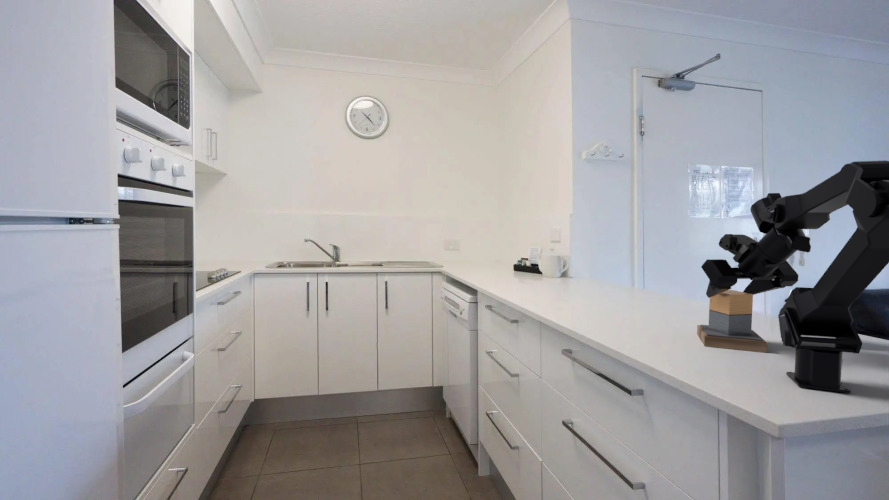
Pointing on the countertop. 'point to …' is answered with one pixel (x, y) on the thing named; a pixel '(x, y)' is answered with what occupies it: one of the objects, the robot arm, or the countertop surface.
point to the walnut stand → (731, 340)
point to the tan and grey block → (731, 313)
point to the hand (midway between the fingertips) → (725, 295)
